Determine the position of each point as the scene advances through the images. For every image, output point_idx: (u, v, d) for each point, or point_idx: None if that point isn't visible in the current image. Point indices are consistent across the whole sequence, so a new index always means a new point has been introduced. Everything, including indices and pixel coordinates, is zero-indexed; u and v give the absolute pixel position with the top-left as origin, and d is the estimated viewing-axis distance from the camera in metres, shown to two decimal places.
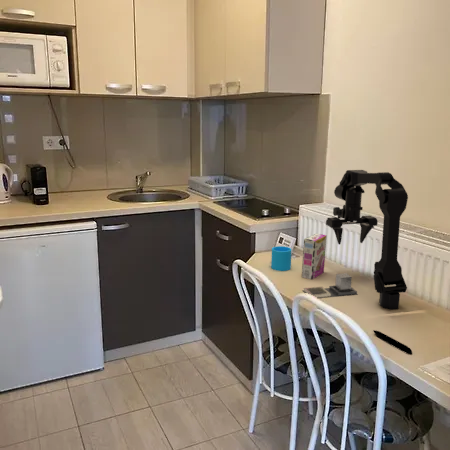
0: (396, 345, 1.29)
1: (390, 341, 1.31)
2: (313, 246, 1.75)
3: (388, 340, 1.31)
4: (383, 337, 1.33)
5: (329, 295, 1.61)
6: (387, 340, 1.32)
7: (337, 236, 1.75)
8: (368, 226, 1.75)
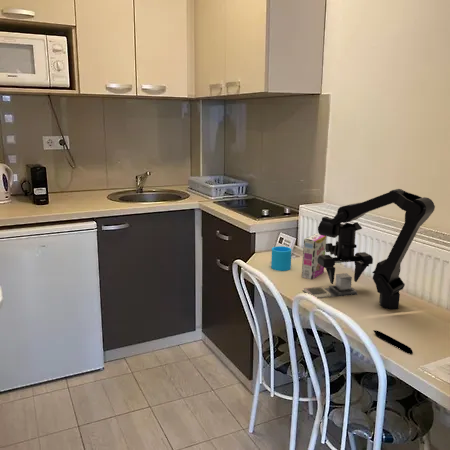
0: (396, 345, 1.29)
1: (390, 341, 1.31)
2: (313, 245, 1.75)
3: (388, 340, 1.31)
4: (383, 337, 1.33)
5: (329, 295, 1.61)
6: (387, 340, 1.32)
7: (329, 275, 1.63)
8: (363, 264, 1.63)
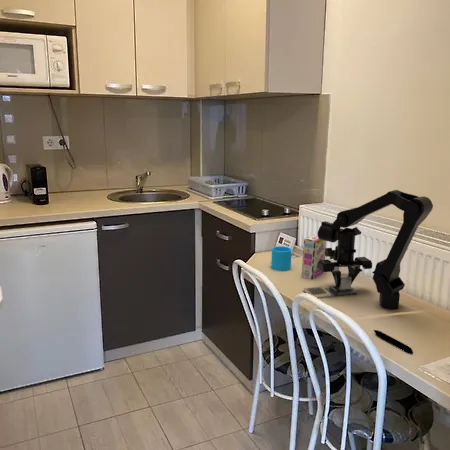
0: (397, 345, 1.29)
1: (391, 341, 1.31)
2: (313, 245, 1.75)
3: (389, 340, 1.31)
4: (384, 337, 1.33)
5: (329, 295, 1.61)
6: (388, 340, 1.32)
7: (335, 279, 1.64)
8: (356, 270, 1.63)
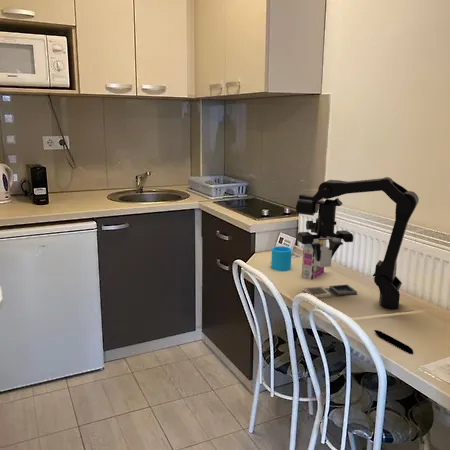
0: (397, 345, 1.29)
1: (391, 341, 1.31)
2: None
3: (389, 340, 1.31)
4: (384, 337, 1.33)
5: (329, 295, 1.61)
6: (388, 340, 1.32)
7: (315, 252, 1.60)
8: (336, 243, 1.59)
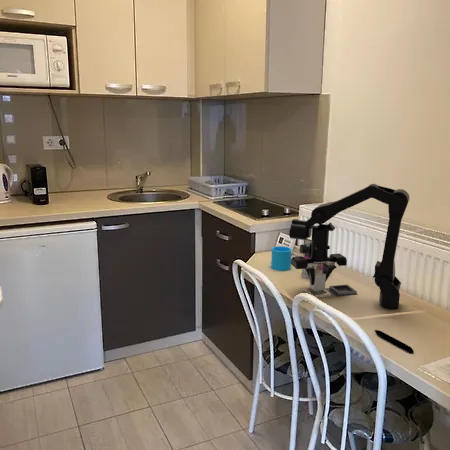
0: (397, 345, 1.29)
1: (391, 341, 1.31)
2: None
3: (389, 340, 1.32)
4: (384, 337, 1.33)
5: (329, 295, 1.61)
6: (388, 340, 1.32)
7: (309, 276, 1.61)
8: (330, 266, 1.60)
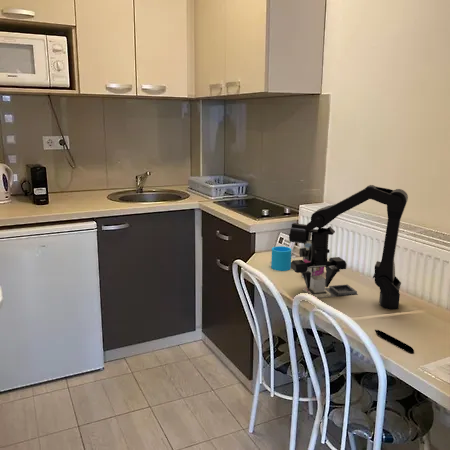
0: (398, 344, 1.29)
1: (392, 340, 1.31)
2: None
3: (390, 339, 1.32)
4: (385, 336, 1.33)
5: (329, 295, 1.61)
6: (389, 339, 1.32)
7: (305, 280, 1.62)
8: (333, 270, 1.61)
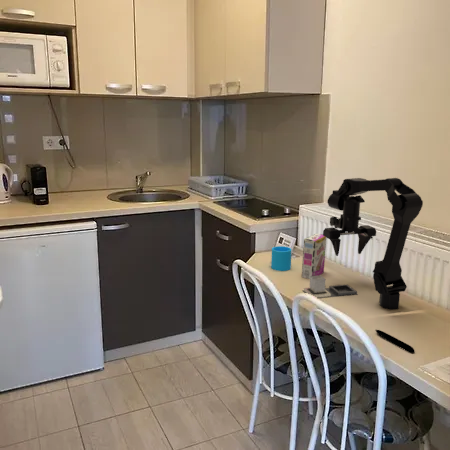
0: (398, 344, 1.29)
1: (392, 340, 1.31)
2: (313, 245, 1.75)
3: (390, 339, 1.32)
4: (385, 336, 1.33)
5: (329, 295, 1.61)
6: (389, 339, 1.32)
7: (335, 247, 1.68)
8: (366, 236, 1.68)
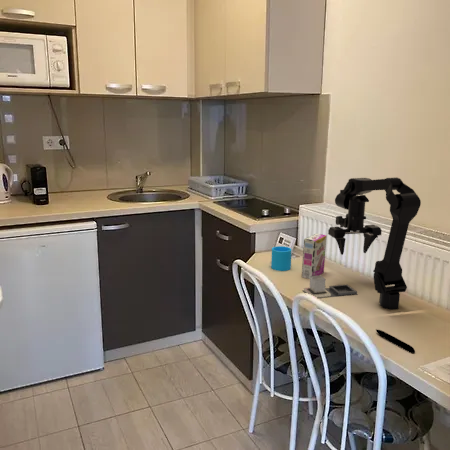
0: (399, 344, 1.29)
1: (393, 340, 1.31)
2: (313, 246, 1.75)
3: (391, 339, 1.32)
4: (386, 336, 1.33)
5: (329, 295, 1.61)
6: (390, 339, 1.32)
7: (340, 246, 1.69)
8: (372, 236, 1.69)
